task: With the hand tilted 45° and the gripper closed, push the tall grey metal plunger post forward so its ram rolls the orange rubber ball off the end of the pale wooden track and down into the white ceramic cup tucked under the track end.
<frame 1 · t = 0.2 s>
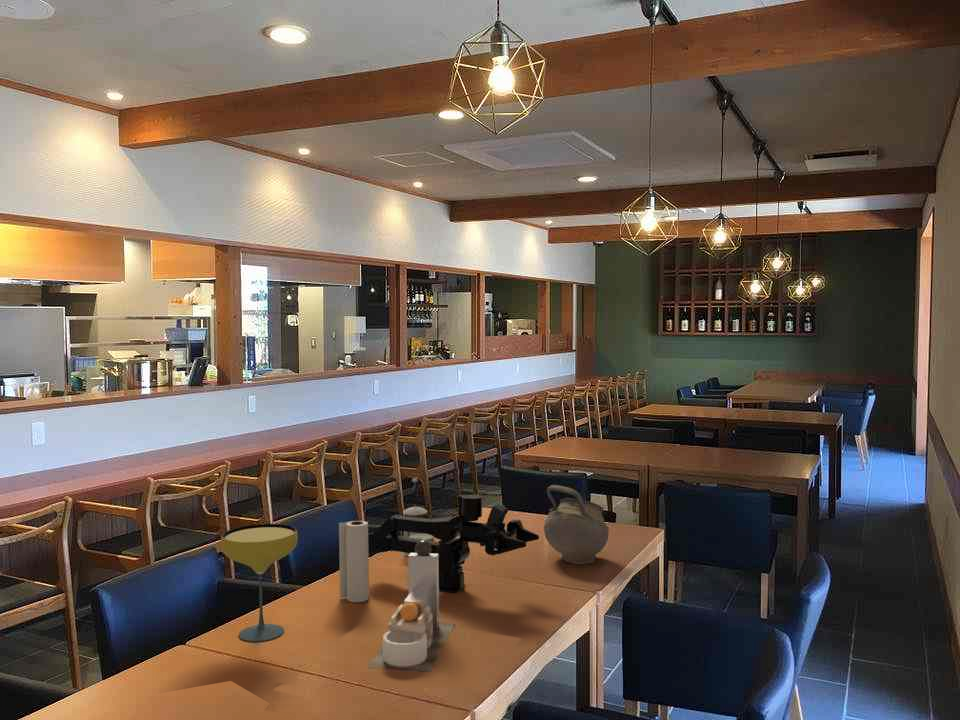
hand: (532, 540, 213), 17 cm above the table, tool horizontal, fingers open, 9 cm apart
cocktail glass: (261, 634, 193), on the table
french press: (414, 553, 261), on the table
cup: (405, 658, 175), resting on launcher
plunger: (419, 589, 188), point 12 cm above the table, slide at 0.0 cm
canned food: (421, 572, 240), on the table
paper towel roll: (356, 599, 217), on the table
ball: (409, 611, 178), point 10 cm above the table, touching launcher
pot: (576, 560, 251), on the table
launcher: (411, 652, 181), on the table
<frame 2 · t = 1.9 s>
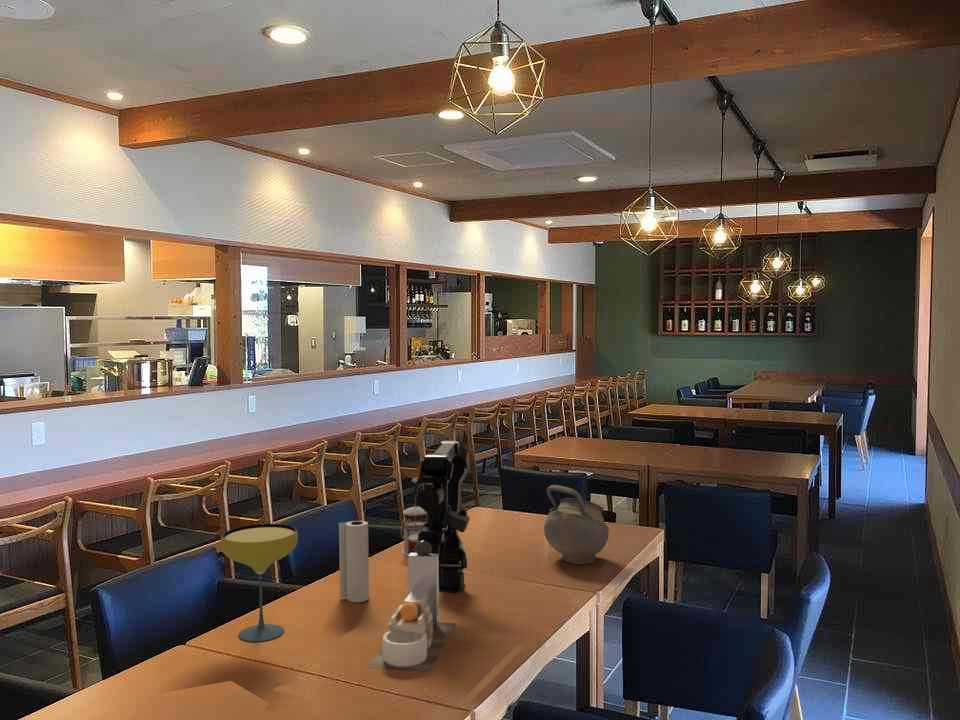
hand: (437, 560, 208), 13 cm above the table, tool pointing down, fingers open, 6 cm apart
nothing on the table moved.
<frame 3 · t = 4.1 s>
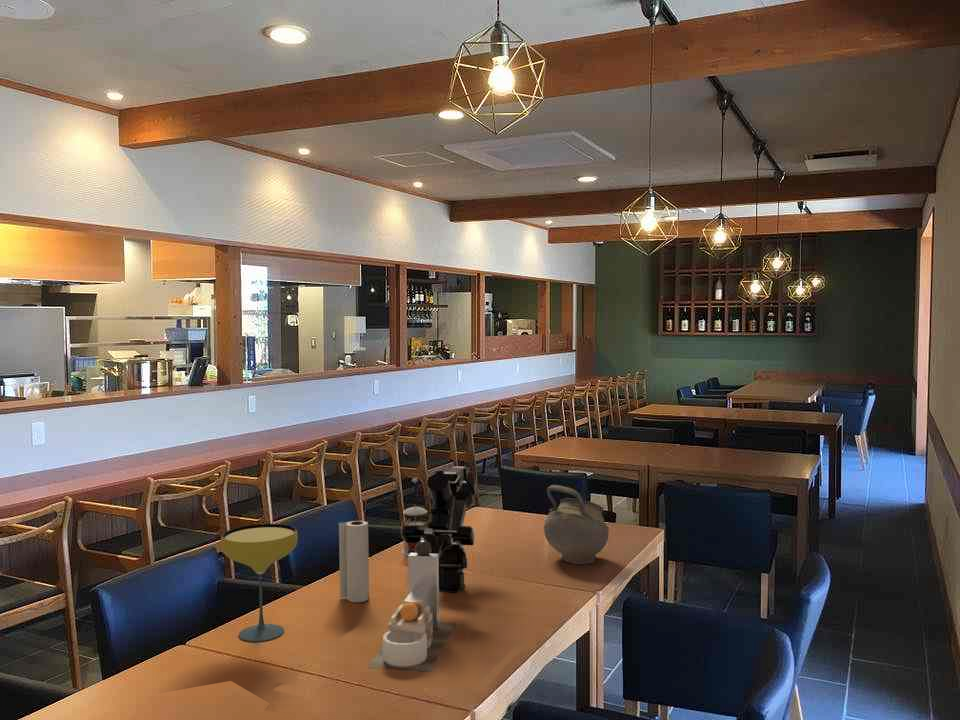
hand: (433, 563, 203), 14 cm above the table, tool tilted 45°, fingers closed
nothing on the table moved.
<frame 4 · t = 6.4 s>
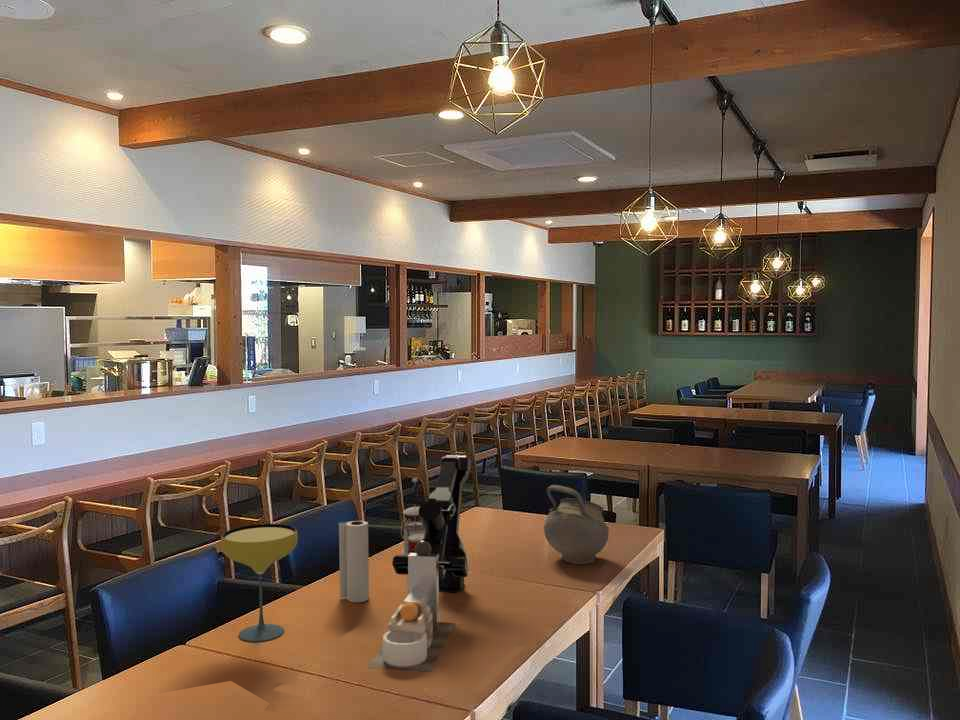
hand: (425, 597, 194), 8 cm above the table, tool tilted 45°, fingers closed, pressing on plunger
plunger: (419, 589, 187), point 12 cm above the table, slide at 0.2 cm, touching gripper
everything else where it was.
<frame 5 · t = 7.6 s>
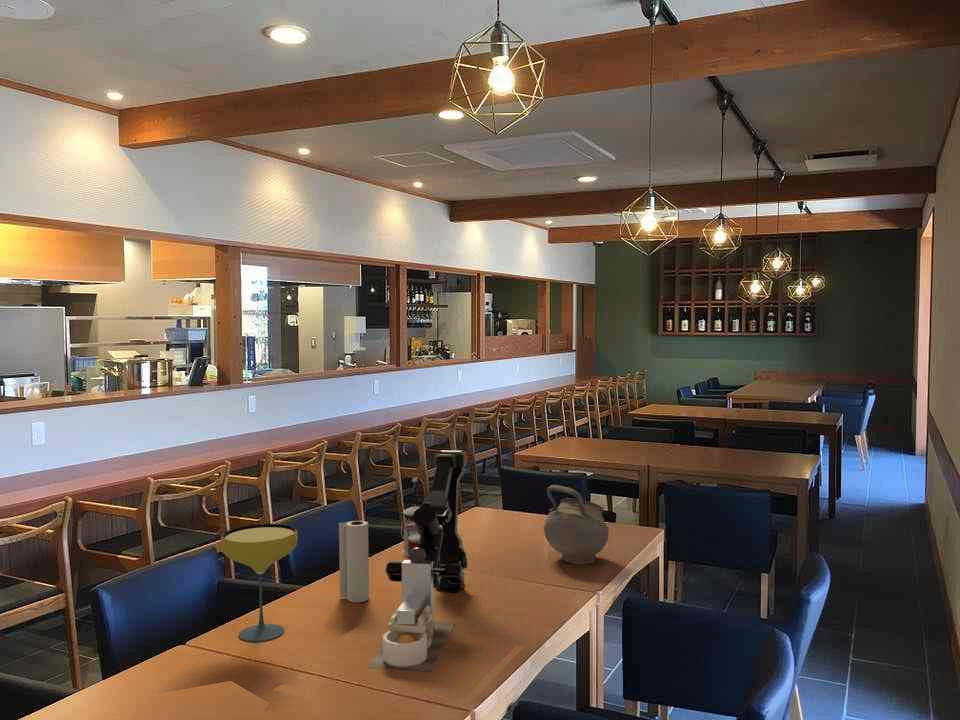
hand: (419, 605, 188), 8 cm above the table, tool tilted 45°, fingers closed
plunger: (412, 598, 182), point 12 cm above the table, slide at 6.1 cm
ball: (406, 642, 176), point 4 cm above the table, tilted 91°, touching cup
everything else where it was.
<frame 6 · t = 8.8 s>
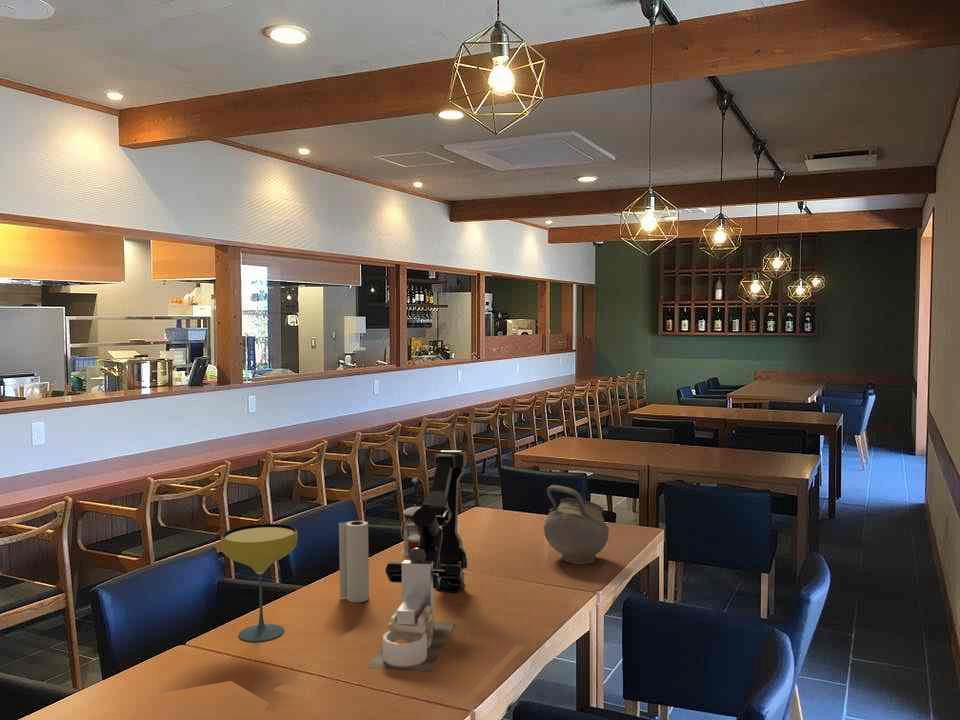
hand: (419, 606, 188), 8 cm above the table, tool tilted 45°, fingers closed
ball: (400, 648, 173), point 4 cm above the table, tilted 170°, touching cup
everything else where it was.
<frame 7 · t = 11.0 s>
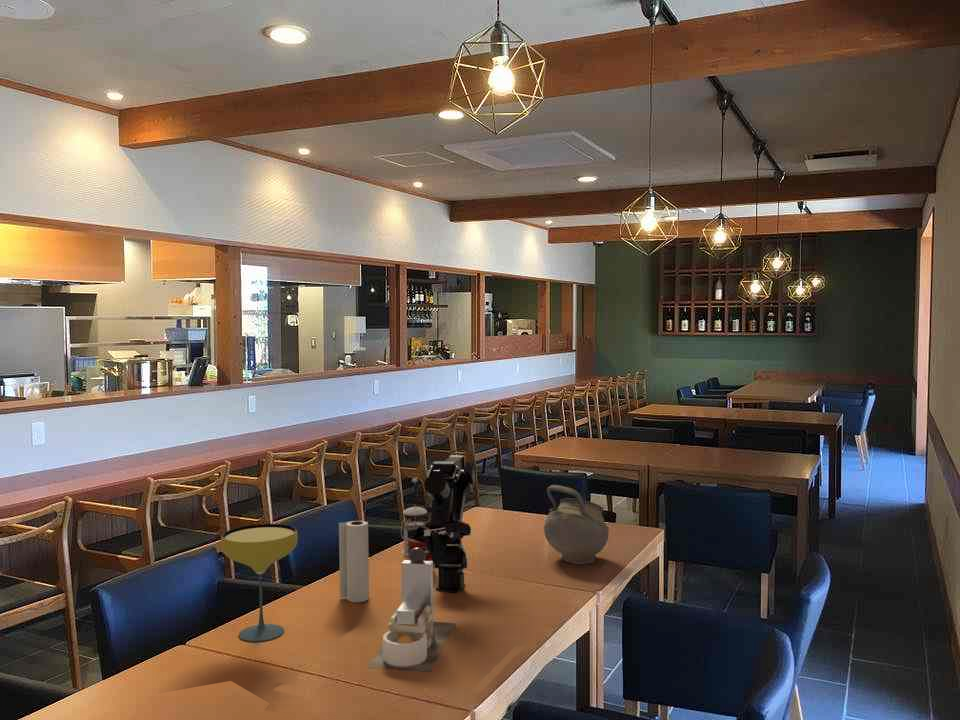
hand: (435, 564, 205), 13 cm above the table, tool tilted 30°, fingers closed
ball: (405, 645, 175), point 4 cm above the table, tilted 125°, touching cup
everything else where it was.
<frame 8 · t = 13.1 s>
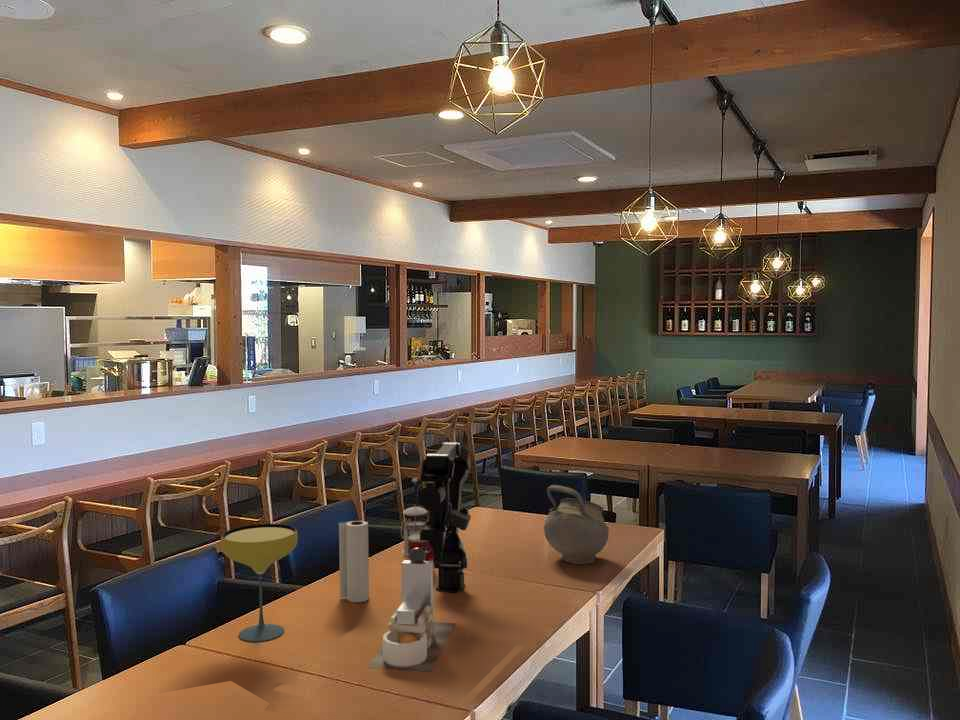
hand: (439, 558, 210), 13 cm above the table, tool pointing down, fingers closed
ball: (409, 642, 176), point 4 cm above the table, tilted 78°, touching cup
everything else where it was.
at the end: ball 2.0 cm off-centre on the cup, point 2.8 cm above the cup's base; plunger slide at 6.2 cm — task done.
